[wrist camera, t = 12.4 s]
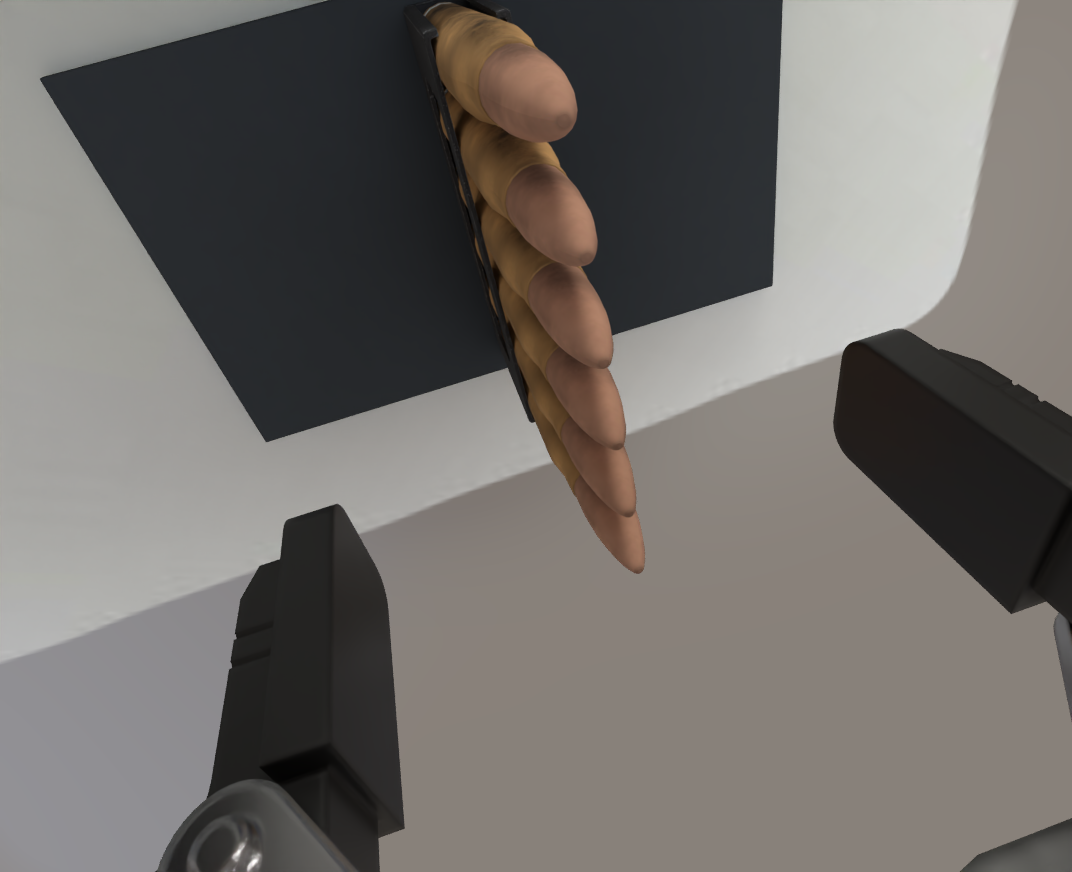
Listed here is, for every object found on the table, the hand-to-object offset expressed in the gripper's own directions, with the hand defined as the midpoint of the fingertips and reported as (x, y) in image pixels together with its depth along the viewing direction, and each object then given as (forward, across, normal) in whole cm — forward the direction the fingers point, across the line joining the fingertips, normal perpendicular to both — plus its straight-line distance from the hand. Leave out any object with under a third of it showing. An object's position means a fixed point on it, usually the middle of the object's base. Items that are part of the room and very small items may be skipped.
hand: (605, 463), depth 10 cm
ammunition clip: (+13, -1, 0) cm, 13 cm away
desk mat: (+13, 0, 0) cm, 13 cm away
